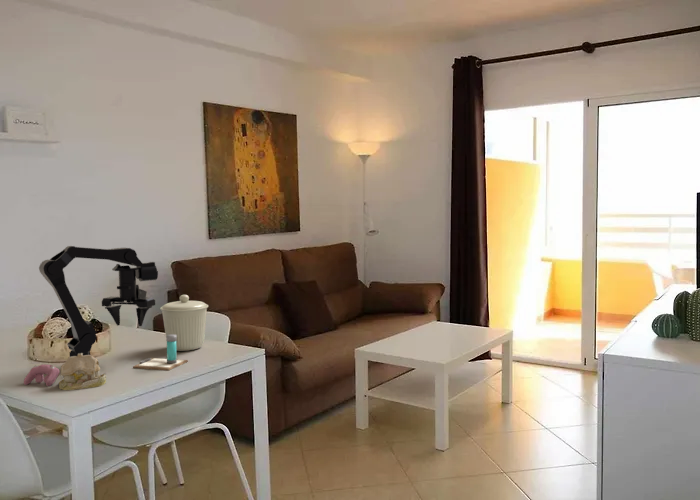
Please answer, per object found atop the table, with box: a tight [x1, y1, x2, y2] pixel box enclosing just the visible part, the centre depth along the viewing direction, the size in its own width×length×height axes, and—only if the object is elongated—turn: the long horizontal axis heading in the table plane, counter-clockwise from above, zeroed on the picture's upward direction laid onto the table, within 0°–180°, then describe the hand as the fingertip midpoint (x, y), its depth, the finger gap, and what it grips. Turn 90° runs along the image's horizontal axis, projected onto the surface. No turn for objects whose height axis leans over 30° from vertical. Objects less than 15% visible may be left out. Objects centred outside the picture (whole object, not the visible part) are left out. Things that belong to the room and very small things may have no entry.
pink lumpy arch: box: [23, 364, 61, 387], centre depth 192 cm, size 10×5×7 cm, turn 75°
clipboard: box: [132, 357, 189, 371], centre depth 213 cm, size 12×14×1 cm
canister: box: [159, 294, 209, 352], centre depth 237 cm, size 18×18×21 cm
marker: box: [165, 334, 178, 364], centre depth 212 cm, size 3×3×10 cm
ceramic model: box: [58, 353, 107, 391], centre depth 190 cm, size 14×11×10 cm
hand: (129, 325), depth 220 cm, fingers open, 9 cm apart
